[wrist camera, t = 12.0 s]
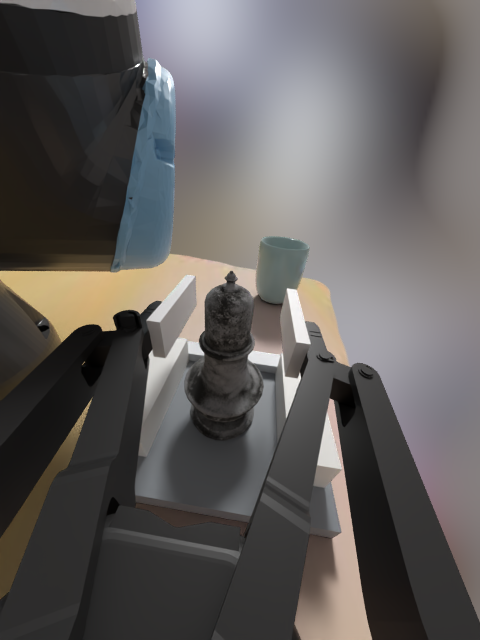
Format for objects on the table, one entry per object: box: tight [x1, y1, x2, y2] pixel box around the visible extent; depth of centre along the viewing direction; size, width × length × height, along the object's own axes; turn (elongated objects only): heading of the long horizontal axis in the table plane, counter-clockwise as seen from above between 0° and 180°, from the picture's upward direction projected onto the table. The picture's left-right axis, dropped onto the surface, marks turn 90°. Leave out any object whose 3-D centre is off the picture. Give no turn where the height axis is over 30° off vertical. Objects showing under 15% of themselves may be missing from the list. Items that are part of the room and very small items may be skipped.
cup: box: [256, 236, 310, 304], centre depth 35 cm, size 8×8×10 cm
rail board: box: [135, 338, 342, 538], centre depth 17 cm, size 16×13×4 cm
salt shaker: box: [184, 271, 264, 441], centre depth 14 cm, size 6×6×12 cm
